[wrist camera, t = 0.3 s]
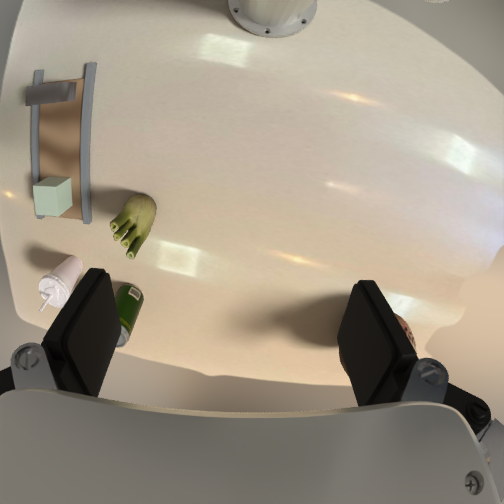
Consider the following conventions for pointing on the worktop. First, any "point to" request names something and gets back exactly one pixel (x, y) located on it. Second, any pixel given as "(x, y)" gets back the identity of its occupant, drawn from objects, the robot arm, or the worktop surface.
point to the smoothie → (60, 282)
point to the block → (52, 196)
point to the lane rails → (84, 139)
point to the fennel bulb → (134, 223)
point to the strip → (60, 134)
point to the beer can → (128, 310)
